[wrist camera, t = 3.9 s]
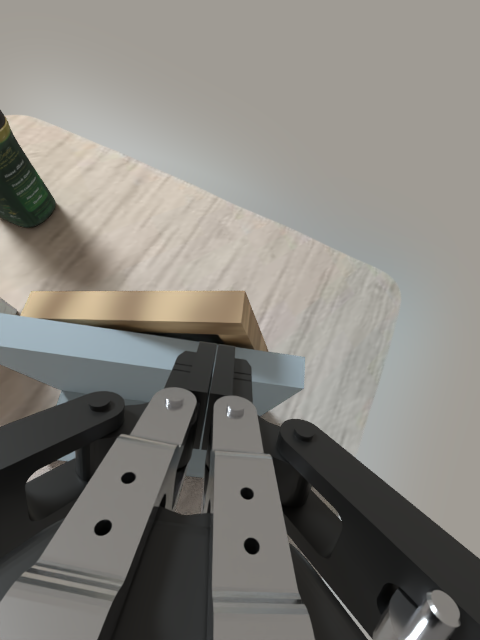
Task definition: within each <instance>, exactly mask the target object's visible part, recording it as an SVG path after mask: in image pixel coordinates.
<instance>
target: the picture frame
mask: <svg viewBox="0 0 480 640" xmlns="http://www.w3.org/2000/svg"><path fill="white" fill-rule="evenodd" d="M21 316H24V317H31V318H38V319H45V320H52V321H59V322H66V323H72V324H79V325H86V326H93V327H100V328H107V329H114V330H121V331H128V332H135V333H142V334H149V335H156V336H162V337H169V338H176V339H183V340H190V341H197V342H200V341H203V342H209V343H216V344H223V345H229V346H235V347H239V348H245V349H252V350H259V351H266V352H269V351H268V349H267V346H266V344H265V341H264V339H263V336H262V333H261V331H260V328H259V326H258V323H257V320H256V318H255V315H254V313H253V310H252V308H251V305H250V302H249V300H248V297H247V295H246V292H245V291H31V293H30V295H29V297H28V300H27V302H26V304H25V306H24V309H23V311H22V313H21Z"/></svg>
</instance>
